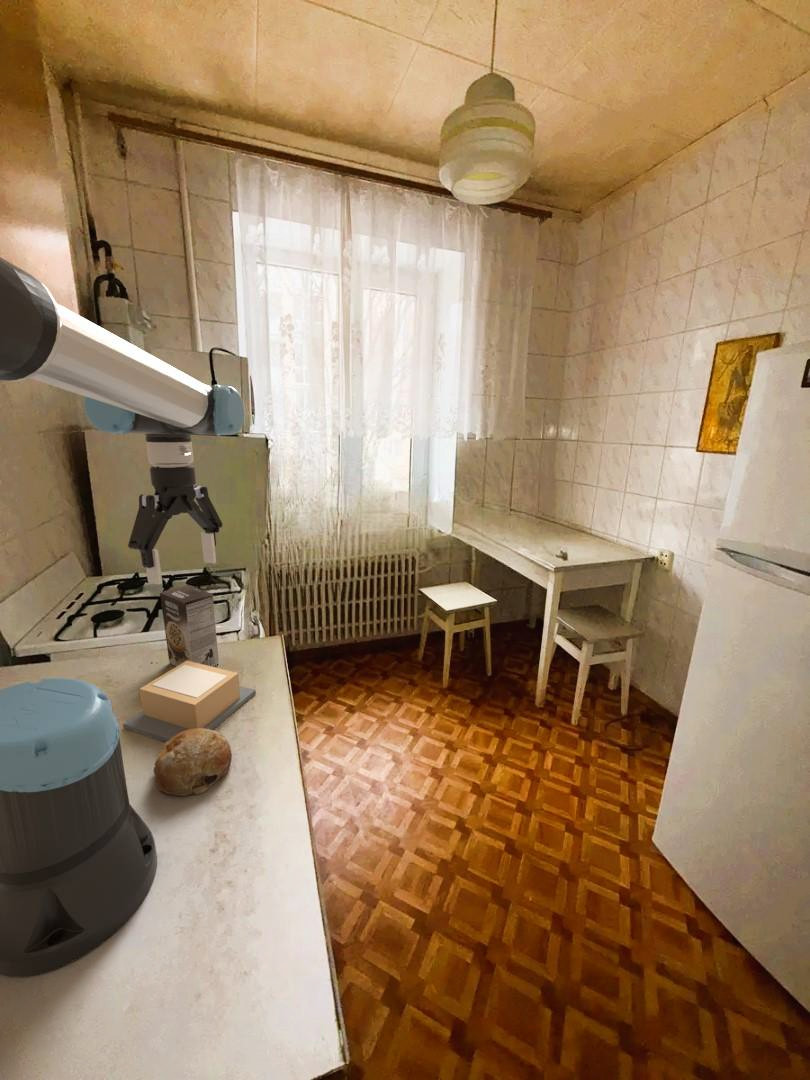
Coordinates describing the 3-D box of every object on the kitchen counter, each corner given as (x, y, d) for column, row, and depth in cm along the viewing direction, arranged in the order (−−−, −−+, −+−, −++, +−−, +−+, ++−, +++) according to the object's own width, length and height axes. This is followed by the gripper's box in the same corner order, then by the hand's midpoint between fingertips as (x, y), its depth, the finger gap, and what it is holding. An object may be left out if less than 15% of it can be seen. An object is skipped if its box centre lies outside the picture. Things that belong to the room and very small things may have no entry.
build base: (188, 749, 69) (184, 716, 67) (123, 727, 73) (118, 696, 72) (255, 693, 83) (253, 665, 82) (197, 678, 88) (194, 651, 86)
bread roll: (172, 826, 60) (179, 795, 56) (138, 767, 64) (142, 734, 60) (238, 781, 67) (247, 751, 64) (203, 731, 72) (210, 700, 68)
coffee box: (167, 663, 93) (158, 592, 89) (196, 651, 98) (188, 583, 94) (191, 677, 88) (182, 602, 84) (220, 664, 93) (213, 592, 89)
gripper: (125, 472, 70) (143, 596, 75) (234, 461, 93) (242, 557, 98) (92, 469, 73) (111, 590, 78) (206, 459, 95) (215, 553, 101)
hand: (184, 572), depth 88 cm, fingers open, 13 cm apart
